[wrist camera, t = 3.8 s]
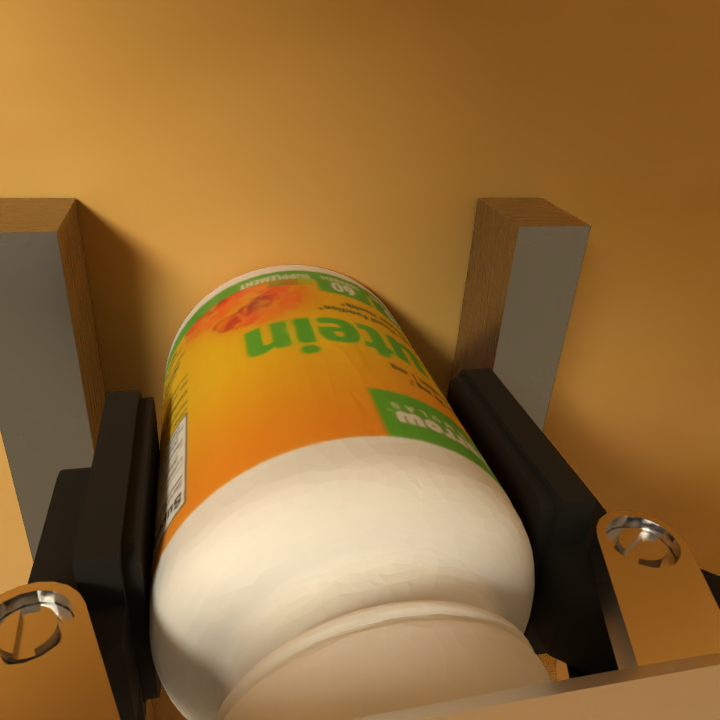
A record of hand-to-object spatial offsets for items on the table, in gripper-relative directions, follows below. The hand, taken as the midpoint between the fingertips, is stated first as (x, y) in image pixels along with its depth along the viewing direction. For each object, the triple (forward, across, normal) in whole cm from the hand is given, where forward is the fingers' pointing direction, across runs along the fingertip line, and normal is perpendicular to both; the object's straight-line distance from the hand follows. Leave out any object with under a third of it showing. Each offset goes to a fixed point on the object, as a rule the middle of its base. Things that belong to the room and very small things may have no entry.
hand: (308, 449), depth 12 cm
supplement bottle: (+3, 0, 0) cm, 3 cm away
